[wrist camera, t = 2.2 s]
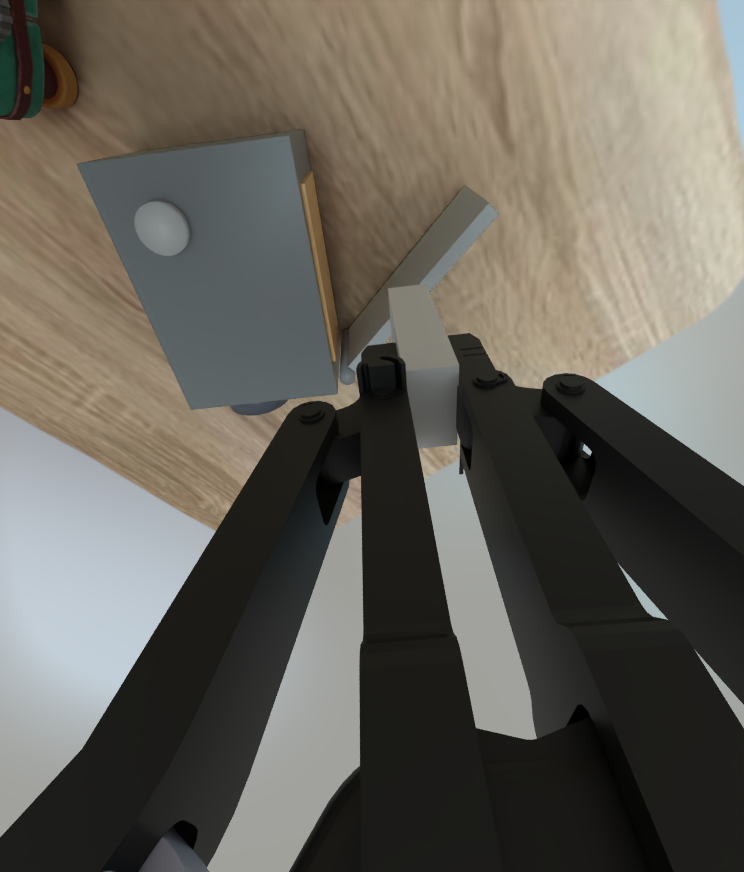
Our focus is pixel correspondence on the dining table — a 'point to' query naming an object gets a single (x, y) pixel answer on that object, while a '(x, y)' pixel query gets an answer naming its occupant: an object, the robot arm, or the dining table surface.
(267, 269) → the camera body
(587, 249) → the dining table surface
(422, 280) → the side door
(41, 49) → the binoculars
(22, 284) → the dining table surface
